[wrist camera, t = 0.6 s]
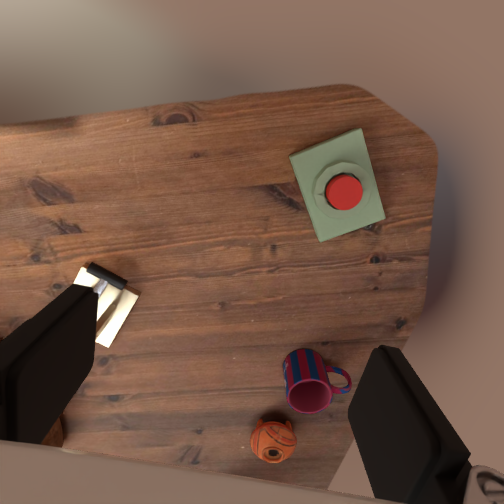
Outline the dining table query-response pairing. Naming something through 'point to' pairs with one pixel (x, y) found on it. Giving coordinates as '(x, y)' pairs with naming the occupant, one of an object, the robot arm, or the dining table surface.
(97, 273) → the switch lever
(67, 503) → the robot arm
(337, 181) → the button
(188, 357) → the dining table surface
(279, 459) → the pot
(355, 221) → the switch box
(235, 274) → the dining table surface
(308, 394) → the cup
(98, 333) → the switch bracket
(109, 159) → the dining table surface
